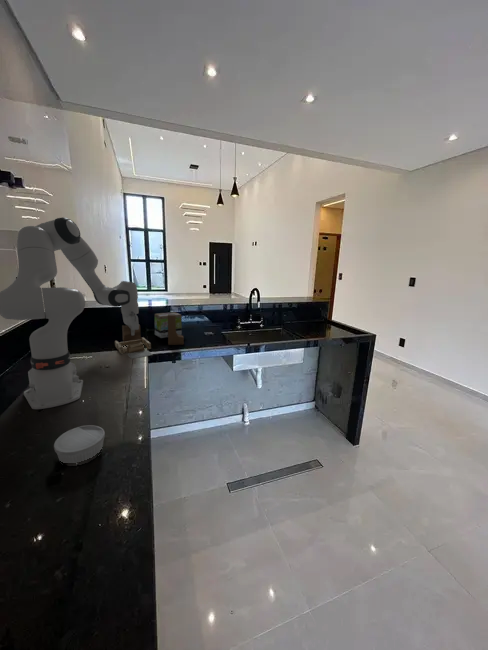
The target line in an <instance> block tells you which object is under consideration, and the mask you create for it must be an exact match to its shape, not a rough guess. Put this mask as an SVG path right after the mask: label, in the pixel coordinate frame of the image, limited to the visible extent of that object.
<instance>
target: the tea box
mask: <svg viewBox="0 0 488 650" xmlns="http://www.w3.org/2000/svg"><path fill="white" fill-rule="evenodd" d="M168 314H175V315H176V333H177V334H178V335H182V333H183V332H182V328H183V327H182V325H183V324H182V323H183V322H182V321H183V320H182V317H183V316H182V314H180V313H178V312H176V311H175V312H160V313H154V335H155V336H157V337H158V338H160V339H165V338H168Z"/></svg>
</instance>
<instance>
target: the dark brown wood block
mask: <svg viewBox="0 0 488 650" xmlns="http://www.w3.org/2000/svg"><path fill="white" fill-rule="evenodd" d="M121 330H122V331H121V333H122V342H125V341H133V340H141V337H142V334H141V325H140V324H139V329H138V330H135V335H133V336H132V335H131V328H129V326H127V325H126V324H124V325H121Z"/></svg>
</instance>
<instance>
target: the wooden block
mask: <svg viewBox="0 0 488 650" xmlns="http://www.w3.org/2000/svg"><path fill="white" fill-rule="evenodd" d="M167 338H168V339H167V344H168V346H174V345H175V346H177V345H178V346H179V345H181V346H182V345H185V341H184V340H185V339H184V335H183V334H181V335H178V334H177V333H176V315H175V314H168V337H167Z"/></svg>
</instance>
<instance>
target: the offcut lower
mask: <svg viewBox="0 0 488 650" xmlns="http://www.w3.org/2000/svg"><path fill="white" fill-rule="evenodd" d="M143 350H145V349H144V345H143V346H141V347H135V348H130V347H128V346H127V351H128V354H129V353H135V352H141V351H143ZM145 351H146V350H145Z"/></svg>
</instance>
